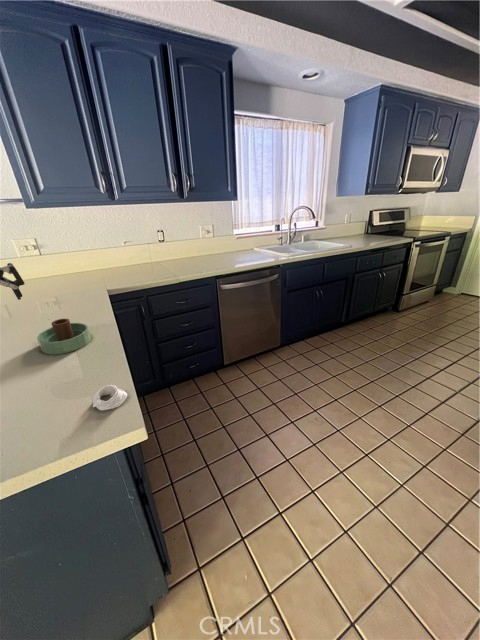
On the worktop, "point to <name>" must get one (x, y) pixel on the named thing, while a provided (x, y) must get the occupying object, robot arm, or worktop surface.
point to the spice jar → (62, 329)
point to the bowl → (53, 347)
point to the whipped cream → (113, 401)
